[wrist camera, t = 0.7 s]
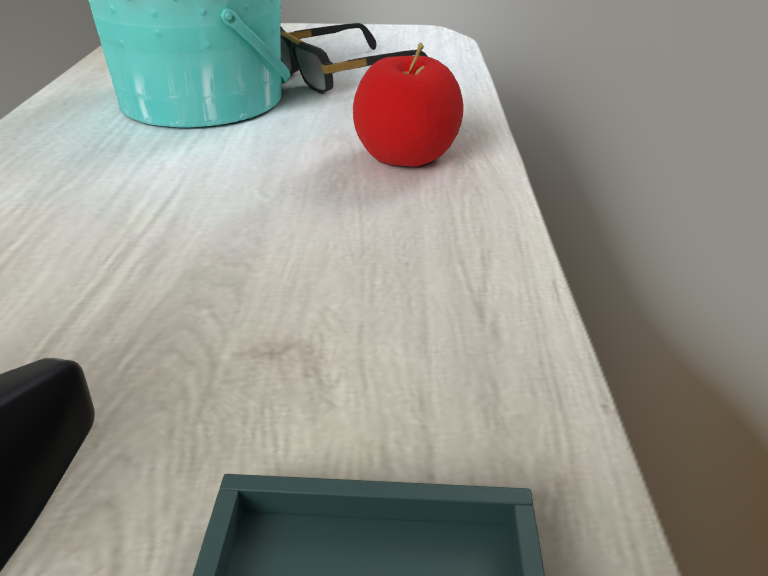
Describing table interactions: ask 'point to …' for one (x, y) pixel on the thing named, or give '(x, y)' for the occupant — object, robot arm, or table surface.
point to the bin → (368, 529)
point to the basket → (192, 58)
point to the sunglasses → (324, 55)
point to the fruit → (407, 109)
